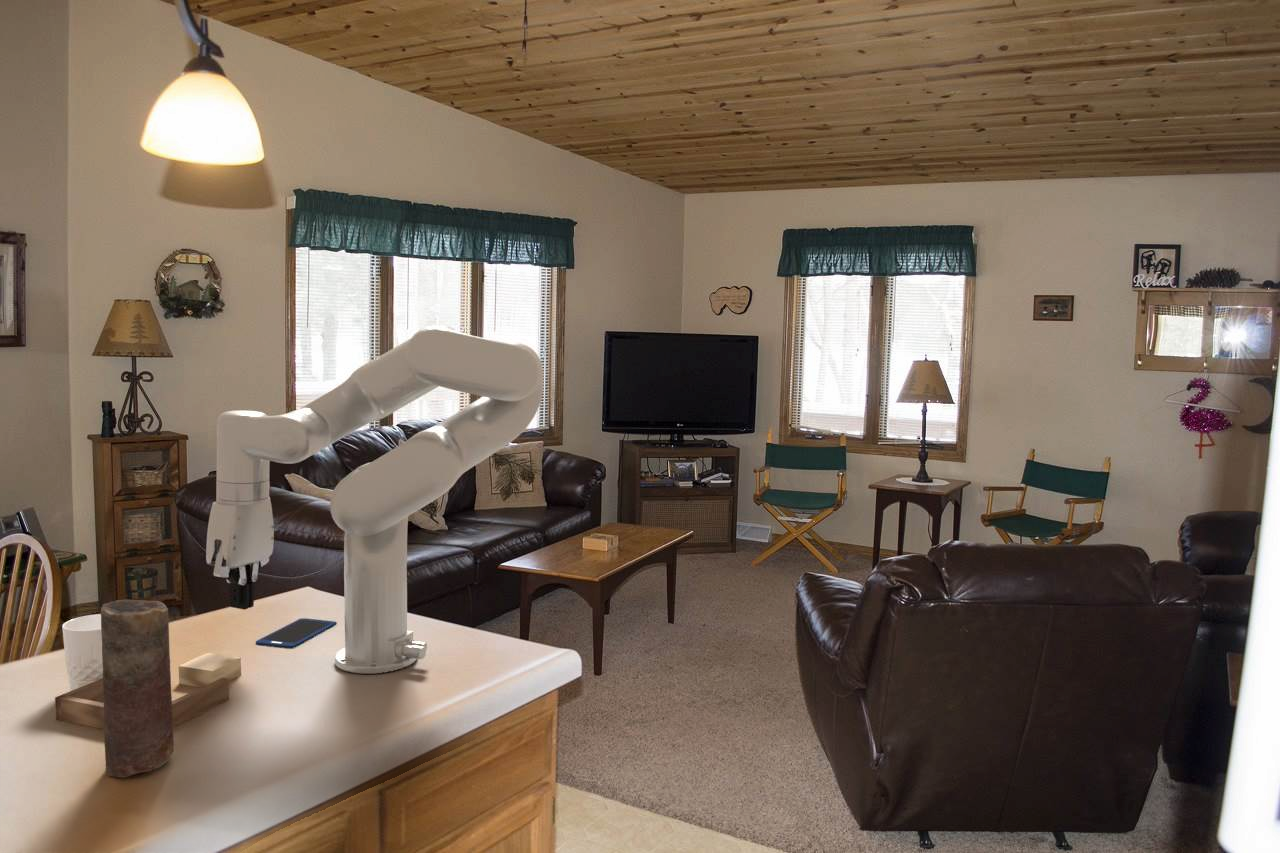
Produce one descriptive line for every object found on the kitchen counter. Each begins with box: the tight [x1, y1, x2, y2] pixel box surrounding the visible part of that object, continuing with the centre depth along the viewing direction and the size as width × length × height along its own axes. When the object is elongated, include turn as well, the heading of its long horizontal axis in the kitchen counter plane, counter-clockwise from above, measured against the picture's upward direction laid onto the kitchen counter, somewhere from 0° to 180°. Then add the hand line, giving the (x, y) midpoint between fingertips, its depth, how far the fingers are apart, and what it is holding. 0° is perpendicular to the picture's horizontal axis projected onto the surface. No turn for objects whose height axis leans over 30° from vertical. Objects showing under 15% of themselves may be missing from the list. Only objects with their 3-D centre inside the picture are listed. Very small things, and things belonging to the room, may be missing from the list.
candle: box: [100, 599, 175, 778], centre depth 115 cm, size 8×7×20 cm
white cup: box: [61, 613, 103, 692], centre depth 139 cm, size 8×8×10 cm
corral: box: [54, 678, 230, 730], centre depth 133 cm, size 16×14×3 cm
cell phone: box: [255, 617, 338, 649], centre depth 165 cm, size 7×14×1 cm, turn 166°
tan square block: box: [178, 652, 242, 688], centre depth 144 cm, size 6×6×3 cm
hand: (241, 606), depth 150 cm, fingers closed
